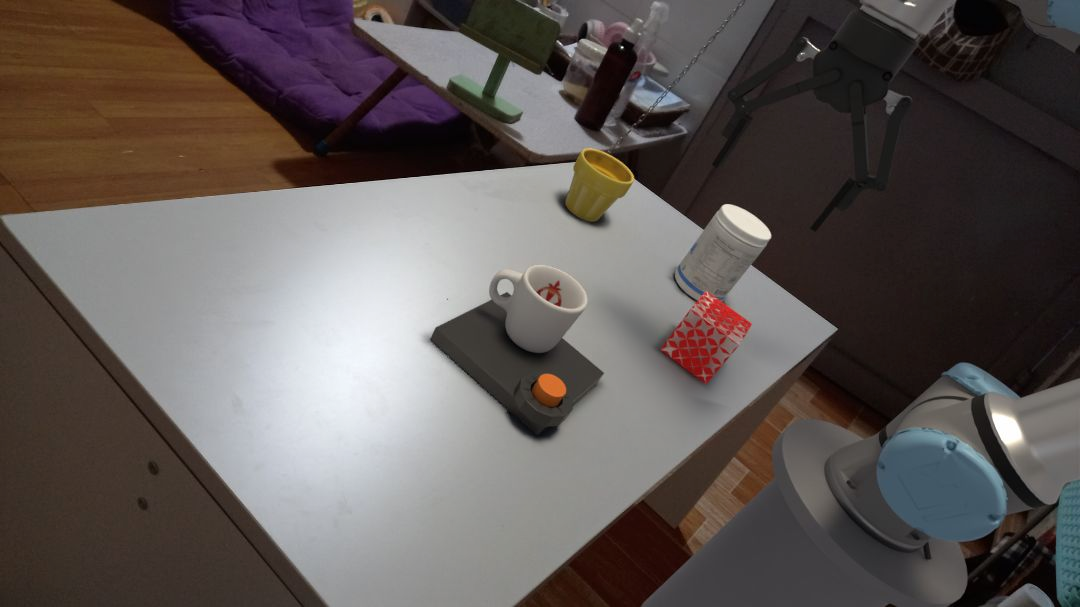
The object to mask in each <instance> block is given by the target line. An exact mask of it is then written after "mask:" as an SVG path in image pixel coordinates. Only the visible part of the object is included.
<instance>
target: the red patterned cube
mask: <svg viewBox="0 0 1080 607" xmlns="http://www.w3.org/2000/svg"><path fill="white" fill-rule="evenodd" d="M752 326H753V323H752V322H750V321H749V320H748V319H746V318H745V317H743V316H742V315H741V314H740V313H738V312H737V311H735V310H734V309H732V308H731V307H730V306H728V305H727V304H725V303H724V302H723V301H722V302H721V301H720V300H718V299H717V298H716V297H714V296H713V295H712V294H710V293H709V292H707V291H706V292H705V293H704V294H703V295H702V296H701V297H700V299H699V300H698V301H697V300H696V302H695V303H694V304H693V305H692V306H691V308H690V309H689V310H688V311H687V313H686V314H685V316H684V317H683V318H682V320H681V321H680V322H679V324H678V325H677V326H676V328H674V330H673V331H672V333H671V334H670V336H668V338H667V340H666V341H665V342H664V344H663V345H662V346H661V347H660V349H659V351H661V352H662V353H664V354H665V355H666V356H667V357H669V358H670V359H672V360H673V361H674V362H676V363H677V364H678V365H679V366H681V367H682V368H683V369H685V370H686V371H687V372H688V373H690V374H692V375H693V376H694V377H695V378H697V380H699V381H701V382H702V383H703V384H705V385H707V384H708V383H709V382H710V381H711V380H712V379H713V377H714V376H715V375H716V374H717V373H718V372H719V370H720V369H722V367H723V365H724V364H725V363H726V362H727V361H728V360H729V358H730V357H731V356H732V355H733V354H734V353H735V352H736V350H737V349H738V348H739V346H740V345H741V343H742V341H743V340H744V338H745V337H746V335H747V333H748V332H749V330H750V329H751V327H752Z"/></svg>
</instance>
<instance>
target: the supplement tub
mask: <svg viewBox="0 0 1080 607" xmlns="http://www.w3.org/2000/svg"><path fill="white" fill-rule="evenodd" d="M771 239H772V233H771V231H770V229H769V228H768V226H767V225H766V224H765V223H764V222H763V221H762V220H760V219H759V218H758V217H757V216H756V215H754V214H753V213H751V212H749V211H748V210H746V209H744V208H742V207H740V206H737V205H734V204H729V203H726V204H723V205H721V206H720V208H719V209H718V210H717V211H716V212H715V214H714V216H712V218H711V220H709V222H708V223H707V225H706V226H705V228H704V229H703V230H702V231H701V234H700V235H699V236H698V238H697V239H696V240H695V242H694V243H693V245H692V246H691V248H690V249H689V250H688V252H687V253H686V255H685V256H684V258H683V259H682V260H681V262H680V263H679V265H678V266H677V267H676V269H675V271H674V278H675V280H676V284H678V286H679V287H680V288H681V290H682V291H684V293H686V294H687V295H688V296H690V298H692V299H694V300H695V301H696V302H697V301H698V300H699V299H700V297H701V296H702V295H703V294H704V293H705V292H706V291H707V292H709V293H710V294H712V295H713V296H714V297H716V298H717V299H718V300H720V301H721V302H723V301H724V300H725V299H726V298H727V296H728V294H729V293H730V292H731V291H732V289H733V288H734V287H735V286H736V285H737V283H738V282H739V281H740V279H741V278H742V277H743V276H744V274H745V273H746V272H747V271H748V269H749V268H750V267H751V266H752V264H753V263H754V262H755V261H756V259H757V258H758V257H759V256H760V254H761V253H762V252H763V250H765V248H766V247H767V245H768V243H769V241H770V240H771Z"/></svg>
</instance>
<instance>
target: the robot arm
mask: <svg viewBox="0 0 1080 607" xmlns="http://www.w3.org/2000/svg"><path fill="white" fill-rule="evenodd" d="M1006 1H1007V2H1009V3H1011V4H1013V5H1015V6H1016V7H1018V8H1019V9H1020V11H1021V17H1022V19H1023V22H1024V24H1025V26H1026V27H1027V28H1028V29H1029V30H1031V31H1032V32H1034V33H1035V34H1036V35H1037V36H1039V37H1043V38H1045V39H1050V40H1052V41H1054V42H1056V43H1057V44H1059V45H1061V46H1062V47H1064V48H1065V49H1067V50H1069V51H1070V52H1072V53H1074V54H1076V55H1077V56H1080V0H1006ZM952 2H953V0H859V3H860V4H861V6H860V7H859V8H854V10H850V12H849V14H848V15H847V16H846V18H845V20H844V21H843V22H842V23H841V26H840V27H839V28H838V30H837V31H836V33H835V34H834V36H832V39H831V40H830V42H828V44H827V46H825V47H824V48H823V49H821V50H820V49H819V48H818V47H816V46H815V45H814V44H812V43H811V42H810V41H811V40H810V39H809V38H807V37H804V36H799V37H797V38H796V39H795V40H794V42H793V43H792V44H791V46H789V48H788V49H787V50H786V52H785V53H784V54H782V55H780V56H779V57H778V58H776V59H775V60H774V61H772V62H770V63H769V64H767V65H766V66H764V67H763V68H761V69H760V70H758V71H757V72H755V73H754V74H752V75H751V76H749V77H748V78H746V79H745V80H743V81H741V82H740V83H739V84H737V85H736V86H735V87H733V88H732V89H730V90H729V91H728V92H727V94H726V97H727V99H728V101H731V102H730V103H732V104H733V106H734V109H735V110H734V113H733V114H732V116H731V117H730V119H729V120H728V122H727V124H726V125H725V127H724V129H723V130H722V134H721V135H722V137H724V138H726V139H727V140H726V142H725V143H724V144H723V146H722V148H721V149H720V151H719V152H718V154H717V155H716V158H715V159H714V160H713V162H712V164H711V166H713V167H714V168H716V169H718V168H720V167H722V166H723V165H724V164H725V163H726V161H727V159H728V158H729V156H730V155H731V153H732V152H733V150H734V149H735V147H736V145H737V144H738V143H739V141H740V139H741V138H742V136H743V135H744V133H745V132H746V131H747V129H748V127H749V125H750V124H751V122H752V121H753V119H754V117H752V116H751V115H750V114H749V113H750V112H753V111H757V110H759V109H762V108H764V107H767V106H770V105H774V104H776V103H779V102H782V101H784V100H787V99H790V98H792V97H796V96H798V95H801V94H805V93H806V92H810V91H812V92H813V96H815V99H816V100H817V101H819V102H821V103H825V104H828V105H830V106H831V108H833V110H835V111H836V112H838V113H840V114H841V113H842V114H850V122H851V130H852V132H851V133H852V148H853V163H854V178H855V179H853V178H851V177H848V179H847V180H846V181H845V182H844V184H842V186H841V187H840V189H839V190H838V191H837V192H836V194H835V195H834V196H833V197H832V199H831V200H830V201H829V203H828V204H827V205H826V207H825V208H824V209H823V210H822V212H821V213H820V214H819V215H818V217H817V218H816V219H815V221H814V222H813V223H812V225H810V228H809V229H810V230H811V231H813V232H814V233H816V232H817V231H818V229H819V228H820V227H821V226H822V225H823V223H824V222H825V221H826V220H827V218H828V217H829V216H830V214H831V213H832V212H833V211H834V209H837V210H839V211H841V212H844V211H846V210H848V209H849V207H850V206H851V205H852V204H853V202H855V200H856V199H857V197H859V195H860V194H861V193H862V192H863V191H864V190H867V189H868V190H875V191H876V192H884V191H885V190H887V187H888V184H889V181H890V180H889V179H890V175H891V171H892V166H893V161H894V156H895V153H896V147H897V143H898V139H899V135H900V130H901V126H902V121H903V119H904V117H905V116H906V115H907V112H908V111H909V109H910V108H911V106H912V104H913V98H912V97H911V96H909V95H903V94H899V93H898V92H895V91H893V90H890V86H891V83H892V81H893V80H894V79H895V77H896V75H898V73H899V72H900V70H901V69H902V68H903V66H904V65H905V64H906V62H907V61H908V60H909V58H910V57H911V56H912V55H913V53H914V52H915V50H916V49H917V48H918V46H917V44H918V42H917V41H916V39H917V37H918V36H920V37H925V36H927V34H928V33H929V32H930V31H931V29H932V28H933V26H934V25H935V24H936V23H937V21H939V18H941V16H942V15H943V13H944V12H945V11H946V9H947V8H948V7H949V5H950V4H951V3H952ZM808 59H812V76H811V77H809V78H805V79H803V80H800V81H798V82H795V83H792V84H790V85H787V86H785V87H784V86H783V87H781V88H779V89H776V90H774V91H771V92H767V93H766V94H763V95H760V96H757V97H753V98H751V99H747V97H746V95H748V94H749V93H751V92H753V91H754V90H755V89H757V88H758V87H760V86H762V85H763V84H765V83H766V82H768V81H769V80H771V79H772V78H774V77H775V76H777V75H778V74H780V73H781V72H783V71H784V70H786V69H788V68H789V67H790V66H792V65H794V64H795V63H796V62H800V63H803V62H806V60H808ZM882 100H883V101H885V102H886V107H885V112H886V113H887V114H888V115H889V117H888V120H887V124H886V129H885V132H884V133H885V134H884V139H883V143H882V148H881V153H880V158H879V162H878V166H877V172H876V175H871V174H870V162H869V145H868V143H869V142H868V130H867V129H868V128H867V107H868V106H869V107H870V106H871V105H873V104H876V103H879V102H881V101H882ZM940 375H941V376H940V377H939V378H938V379H937V380H936V381H935V382H934V383H932V384H931V385H930V386H929V387H928V388H927V389H926V390H925V391H924V392H923V393H921V394H920V395H919V396H918V397H916V399H915V400H913V402H911V403H910V404H909V405H908V406H907V407H905V408H904V410H903V411H901V412H900V413H899V414H897V416H896V417H894V418H893V419H892V420H891V421H890V422H889V423H887V425H886V426H884V427H883V428H882V429H880V431H878V432H877V433H876V434H874V435H871V436H869V437H866V438H863V440H861V441H858V442H856V443H853V444H851V445H848V446H846V447H843V448H841V449H839V450H837V451H836V452H835V453H834V454H832V455H831V456H830V457H829V458H828V459H827V460H826V462H825V466H824V472H825V477H826V481H827V483H828V486H829V488H830V490H831V492H832V494H833V495H834V497H835V499H836V500H837V502H838V503H839V505H840V506H841V507H842V509H843V510H844V511H845V512H846V513H847V515H848V516H849V517H850V518H851V519H852V520H853V521H854V522H855V523H856V524H857V525H858V526H859V527H860V528H861V529H862V530H864V531H865V532H866V533H867V534H869V535H870V536H871V537H873V538H874V539H875V540H877V541H878V542H880V543H882V544H883V545H885V546H887V547H889V548H891V549H894V550H896V551H900V552H905V553H912V552H915V551H917V550H919V549H920V548H922V547H923V550H924V555H925V559H927V560H930V559H932V558H931V553H930V548H929V540H930V539H931V538H932V537H934V538H937V539H941V540H946V541H954V542H958V543H964V542H971V541H976V540H979V539H982V538H984V537H986V536H987V535H990V534H991V533H992V532H993V531H995V529H997V528H999V527H1000V526H1001V524H1002V522H1004V520H1005V517H1006V516H1008V515H1012V514H1017V513H1021V512H1025V511H1029V510H1034V509H1038V508H1041V507H1045V506H1049V505H1053V504H1056V503H1057V501H1058V499H1059V498H1060V495H1061V493H1062V490H1063V489H1064V486H1065V485H1066V484H1067V483H1070V482H1071V483H1072V482H1075V481H1079V480H1080V377H1079V378H1075V379H1073V380H1070V381H1067V382H1064V383H1061V384H1058V385H1055V386H1052V387H1049V388H1046V389H1043V390H1040V391H1037V392H1034V393H1032V394H1031V393H1030V394H1029V395H1025V396H1022V397H1020V396H1019V395H1018V394H1017V393H1016V392H1015V391H1013V390H1012V389H1011V388H1010V387H1008V386H1007V385H1006V384H1004V383H1003V382H1001V381H1000V379H998V378H996V377H994V376H993V375H992V374H990V373H988V372H987V371H985V370H984V369H983V368H981V367H979V366H977V365H975V364H972V363H970V362H959V363H956V364H955V365H954V366H952V367H951V368H949V369H948V370H947V371H944V372H942V373H941V374H940Z"/></svg>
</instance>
